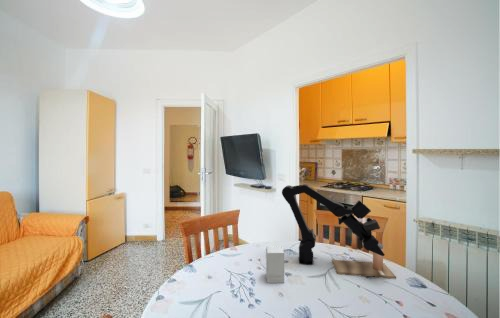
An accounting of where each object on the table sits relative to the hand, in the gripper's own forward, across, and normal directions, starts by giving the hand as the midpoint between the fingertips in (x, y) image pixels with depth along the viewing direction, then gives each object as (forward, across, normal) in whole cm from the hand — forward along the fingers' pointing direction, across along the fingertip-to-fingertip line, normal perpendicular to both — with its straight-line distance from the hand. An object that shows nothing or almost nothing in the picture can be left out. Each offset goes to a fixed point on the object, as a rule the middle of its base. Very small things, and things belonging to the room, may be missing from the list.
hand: (380, 251), depth 100 cm
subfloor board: (+1, -1, +12) cm, 12 cm away
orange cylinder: (+5, 0, +7) cm, 8 cm away
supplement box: (-25, -20, +39) cm, 50 cm away
